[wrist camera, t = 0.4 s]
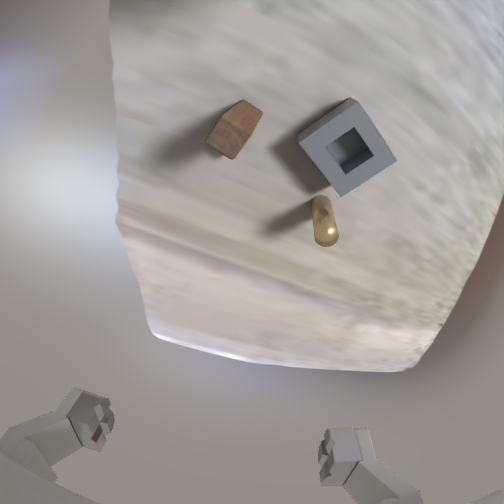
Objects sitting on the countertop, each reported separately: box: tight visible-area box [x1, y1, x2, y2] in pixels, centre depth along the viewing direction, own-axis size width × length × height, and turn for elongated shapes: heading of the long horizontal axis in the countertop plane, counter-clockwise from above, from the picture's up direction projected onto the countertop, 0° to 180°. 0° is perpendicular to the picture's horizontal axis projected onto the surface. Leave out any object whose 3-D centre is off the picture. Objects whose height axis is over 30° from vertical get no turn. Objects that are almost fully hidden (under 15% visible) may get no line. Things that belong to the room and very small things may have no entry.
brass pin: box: [311, 195, 339, 247], centre depth 54 cm, size 4×4×12 cm
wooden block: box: [205, 100, 263, 160], centre depth 44 cm, size 9×4×18 cm, turn 146°
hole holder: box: [298, 97, 397, 197], centre depth 48 cm, size 12×12×6 cm
